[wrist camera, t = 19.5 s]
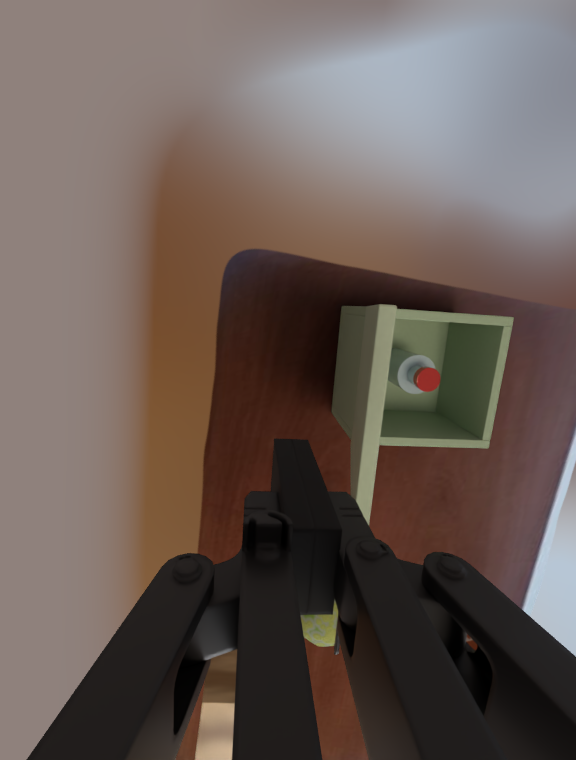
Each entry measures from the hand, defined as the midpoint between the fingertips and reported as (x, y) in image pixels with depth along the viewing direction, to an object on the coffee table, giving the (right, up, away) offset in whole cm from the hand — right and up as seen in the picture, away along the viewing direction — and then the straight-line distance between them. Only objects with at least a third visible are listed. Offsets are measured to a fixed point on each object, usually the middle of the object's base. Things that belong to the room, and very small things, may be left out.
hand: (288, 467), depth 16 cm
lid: (+7, +2, +13) cm, 15 cm away
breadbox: (+15, +6, +35) cm, 38 cm away
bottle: (+15, +6, +34) cm, 37 cm away
